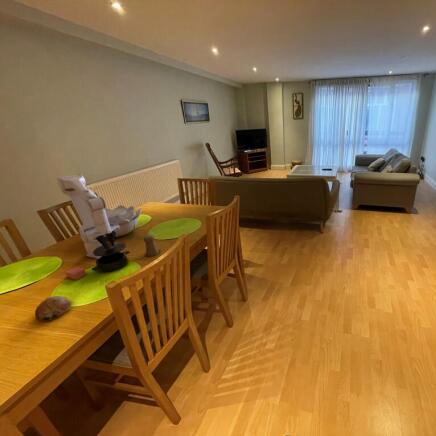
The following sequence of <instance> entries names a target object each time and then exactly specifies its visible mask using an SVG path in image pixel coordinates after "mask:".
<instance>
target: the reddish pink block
mask: <svg viewBox="0 0 436 436" xmlns="http://www.w3.org/2000/svg"><path fill="white" fill-rule="evenodd" d="M65 274H66V277H67V278H68V279H71V280H75V281H77V280H79V279H80V278H83V277H84V276H87V272H86V270H85V269H84V268H82V267H81V268H80V267H77V266H75V267H73V268H72V269H69V270H67V271H65Z"/></svg>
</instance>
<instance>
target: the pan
mask: <svg viewBox="0 0 436 436" xmlns="http://www.w3.org/2000/svg"><path fill="white" fill-rule="evenodd" d="M128 254H130V251H128V250H125V251H124V250H123V251H120V252H118V253H115V254H112V255H108V256H101V257H100V258H98V259H97V258H96V259H95V266H93V267H91V270H92V271H94V272H96V271H99V273H112V272H116V271H119V270H121V269H123V268H124V267H125V266H127V265H128V263H129V261H128V258H127V255H128Z"/></svg>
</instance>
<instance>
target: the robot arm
mask: <svg viewBox="0 0 436 436" xmlns="http://www.w3.org/2000/svg"><path fill="white" fill-rule="evenodd" d="M56 183H57V186H58V187H59V190H60V192H61V193H62V194H63V195H66V196H68V197H69V198H70V200H71V203H72V204H73V205H72V206H73V207H74V209H75V211H76V213H77V215H78V218H79V219H80V221H81V223H82V225H81V226H80V227H79V228H78V233H79V236H80V239H81V240H82V242H83V245H84V249H85V252H86V255H85V256H86V257H89V258H93V259H96V260H97V259H98V258H100V257H101V256H95V255H94V254H93V251H94V250H95V249H96V248H98V247H100V246H103V247H104V249H108V244H107V241H111V244H112V246H114V242H115V239H116V237H115V236H116V232H114V230H117V229H120V226H119V225H114V226H111V227H110V224H109V221H108V218H107V215H106V212H105V209H104V208H107V205H106V201H105V200H104V199H103V196H99V195H96V194H95V192H94V191H93V190H91V189H88V188H87V187H86V185H87V182H86V179H85V177H84V176H83V174H81V173H79V174H74V175H66V176H57V178H56ZM93 227H95V228H93ZM91 228H92V229H91ZM105 236H106V237H105Z"/></svg>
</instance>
